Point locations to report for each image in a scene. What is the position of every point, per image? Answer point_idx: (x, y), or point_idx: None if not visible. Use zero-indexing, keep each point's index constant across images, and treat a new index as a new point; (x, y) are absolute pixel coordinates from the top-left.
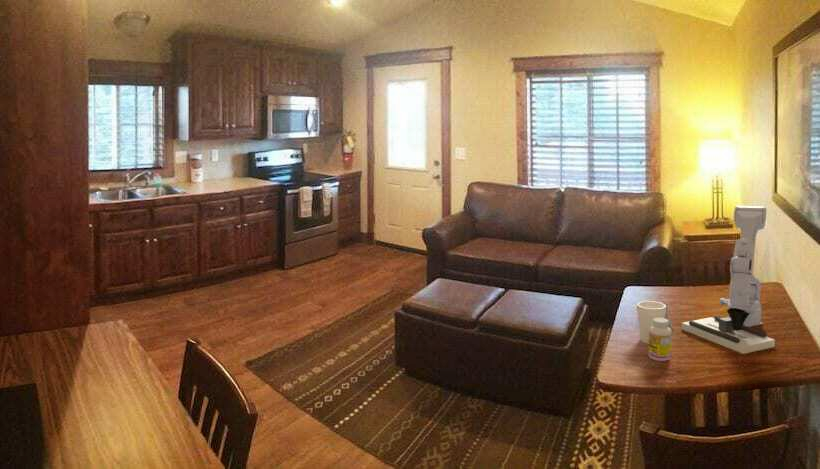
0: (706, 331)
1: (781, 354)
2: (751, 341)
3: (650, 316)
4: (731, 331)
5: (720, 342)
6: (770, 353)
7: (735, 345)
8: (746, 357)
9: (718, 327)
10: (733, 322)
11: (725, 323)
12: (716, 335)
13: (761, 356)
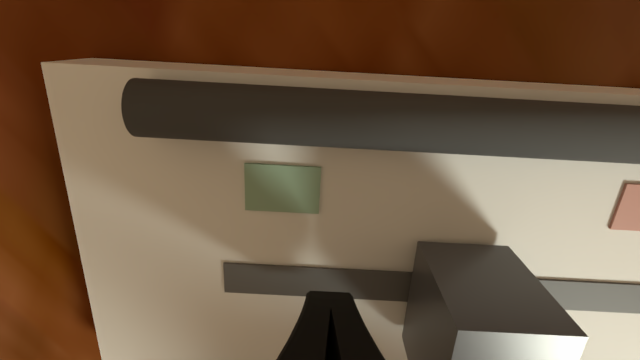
0: None
1: (9, 292)
2: (141, 248)
3: None
4: None
5: (347, 73)
6: (44, 250)
7: (156, 66)
8: (9, 7)
9: None
10: (349, 348)
11: (457, 304)
12: None
13: (4, 144)
